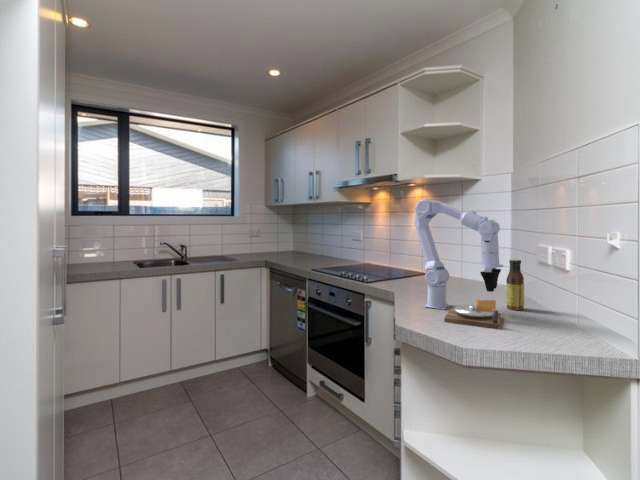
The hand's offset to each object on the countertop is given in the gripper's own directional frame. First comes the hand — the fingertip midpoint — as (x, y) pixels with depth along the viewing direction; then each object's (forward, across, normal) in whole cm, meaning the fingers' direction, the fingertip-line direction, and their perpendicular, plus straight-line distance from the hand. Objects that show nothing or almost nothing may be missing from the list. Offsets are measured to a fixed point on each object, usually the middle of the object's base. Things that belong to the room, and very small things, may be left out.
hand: (491, 289), depth 129 cm
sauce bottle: (+10, +18, -6) cm, 21 cm away
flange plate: (+7, -8, +5) cm, 12 cm away
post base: (+10, -8, +6) cm, 14 cm away
